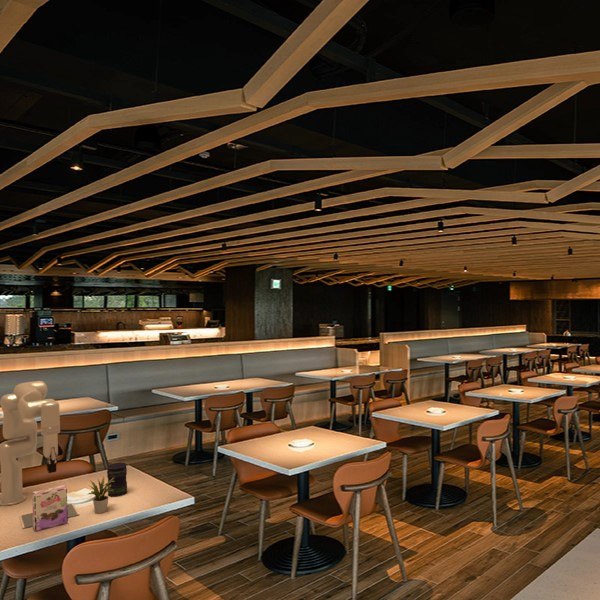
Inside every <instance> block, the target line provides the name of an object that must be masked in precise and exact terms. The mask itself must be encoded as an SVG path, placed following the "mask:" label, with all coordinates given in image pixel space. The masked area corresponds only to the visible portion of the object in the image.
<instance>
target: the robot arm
mask: <svg viewBox="0 0 600 600" xmlns="http://www.w3.org/2000/svg"><path fill="white" fill-rule="evenodd" d="M47 394H48V386H47V384H46V383H45V382H44V381H42V380H36V381H35V380H34V381H27V382H21V383H19V384H17V385H15V387H14V389H13V393H8V394H4V395H2V396H1V398H0V407H1V410H2V413H3V417H2V418H3V419H2V421H3V422H2V437H3V438H4V439H5V441H3V442H1V443H0V486H1V488H0V490H1V498H0V506H3V507H4V506H5V507H7V506H13V505H18V504H21V503H23V502H24V501H26V500H27V496H26V495H25V494H23V490H24V489H23V467H22V463H21V462H20V461H19V460H17V458H21V457H26V456H29V455H32V454H34V453H35V452H36V449H37V442H38V441H37V440H38V423H37V420H36V418H40V430H41V432H40V435H42V436H43V438H42V439H43V442H42V445H43V446H42V452H43V456H44V458H46V460H47V461H46V471H47V472H48V474H53V473H56V472H57V460H56V459H57V456H59V455H58V454H59V442H58V440H59V439H58V436H59V435H58V434H60V433H61V420H60V419H61V417H60V414H61V413H60V412H61V411H60V403H59V402H58V401H56V400H55V399H53V398H46V396H47Z"/></svg>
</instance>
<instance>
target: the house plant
mask: <svg viewBox="0 0 600 600" xmlns="http://www.w3.org/2000/svg"><path fill="white" fill-rule="evenodd" d="M113 479H114V478H113ZM111 480H112V479H111ZM111 480H110V481H109V482H108V481H107V482H106V483H105V477H104V476H103V477H102V480H101V481H100V479H99V478H97V482H98V483H97V484H98V485H97V484H96V483H95V482H93V481H92V480H89V482H90V483H91V484H92V485H88V486H89V487H90V488H91V489H92V490H91V491H90V492H88V493H87V495H94V498H93V499H92V502H93V506H94V508H93V509H94V512H95V514H104V513H106V512H107V511H108V505H109V504H108V503H109V496H108V495H106V493H108V491H112V490H109V489H111V488H109V487H110V485H109V483H110V482H114V481H113V480H112V481H111ZM108 485H109V487H108ZM113 492H114V491H113Z"/></svg>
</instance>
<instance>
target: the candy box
mask: <svg viewBox="0 0 600 600" xmlns="http://www.w3.org/2000/svg"><path fill="white" fill-rule="evenodd" d="M31 496H32V513H33V527H32V528H33V531H34V532H39V531H43V530H47V529H50V528H54V527H58V526H61V525H67V524H69V518H68V509H67V505H68V488H67V486H66V485H64V484H63V485H59V486H55V487H50V488H45V489H41V490H36V491H32V495H31Z"/></svg>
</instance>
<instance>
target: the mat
mask: <svg viewBox="0 0 600 600" xmlns="http://www.w3.org/2000/svg"><path fill="white" fill-rule="evenodd" d="M67 509H68V519H71V518H75V517H79V516H80V512H79V511H78V509H77V506H76V505H75V503H74V502H73V503H69V504H67ZM18 518H19V522H20V525H21V528H22V530H25V529H30V528H33V512H31V513H30V512H29V513H26V514H23V515H22V514H20V515H18Z"/></svg>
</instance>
